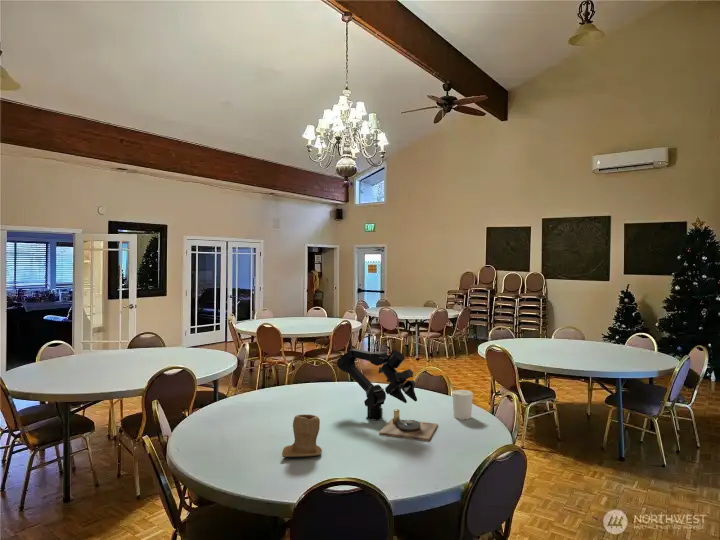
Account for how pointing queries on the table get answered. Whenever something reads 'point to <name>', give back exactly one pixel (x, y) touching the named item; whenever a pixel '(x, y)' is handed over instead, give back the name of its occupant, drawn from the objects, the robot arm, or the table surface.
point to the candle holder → (462, 404)
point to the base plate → (422, 434)
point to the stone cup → (304, 437)
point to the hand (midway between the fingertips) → (411, 401)
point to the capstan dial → (405, 423)
